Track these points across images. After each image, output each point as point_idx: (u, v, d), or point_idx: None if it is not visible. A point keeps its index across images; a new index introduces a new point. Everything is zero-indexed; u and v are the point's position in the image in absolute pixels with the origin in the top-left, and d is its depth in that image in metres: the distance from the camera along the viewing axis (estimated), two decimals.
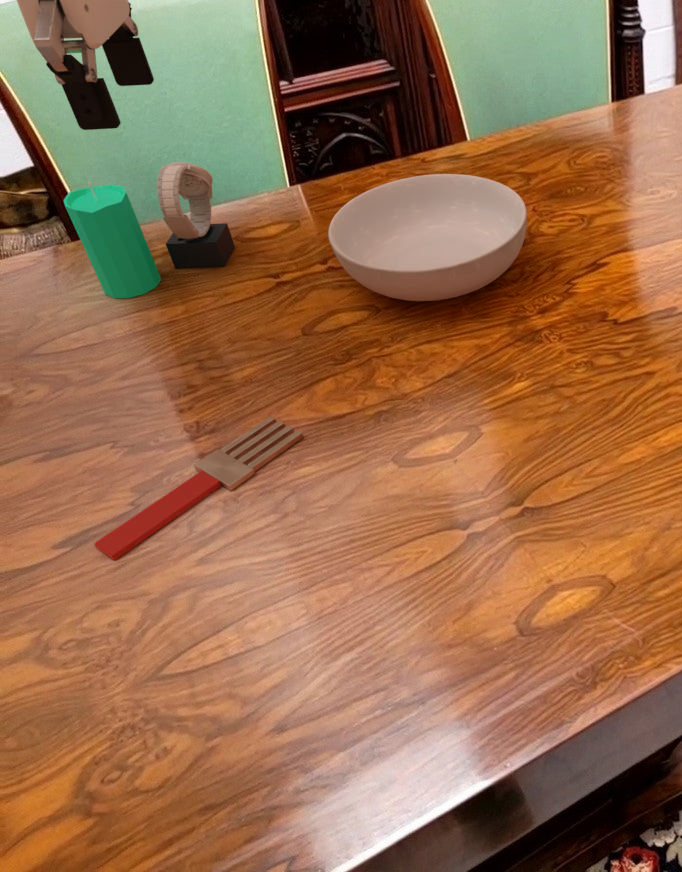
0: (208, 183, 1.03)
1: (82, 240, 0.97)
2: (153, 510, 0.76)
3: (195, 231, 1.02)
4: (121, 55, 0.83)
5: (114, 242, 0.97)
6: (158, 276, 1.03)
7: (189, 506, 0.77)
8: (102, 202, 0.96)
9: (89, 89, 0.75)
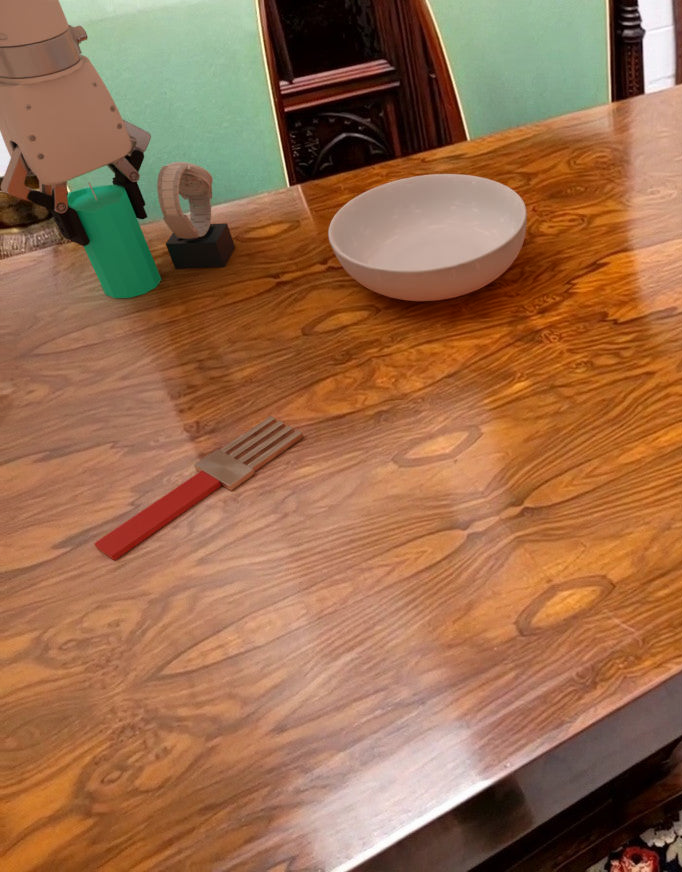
0: (208, 183, 1.03)
1: None
2: (153, 510, 0.76)
3: (195, 231, 1.02)
4: None
5: (114, 242, 0.97)
6: (158, 276, 1.03)
7: (189, 506, 0.77)
8: (102, 202, 0.96)
9: (59, 216, 0.93)
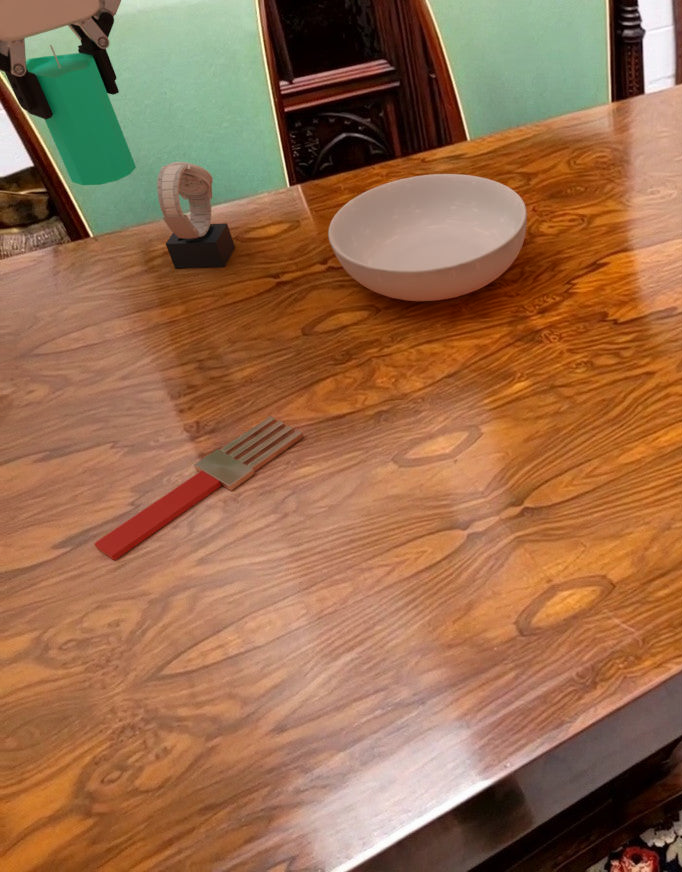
0: (208, 183, 1.03)
1: None
2: (153, 510, 0.76)
3: (195, 231, 1.02)
4: None
5: (81, 116, 0.85)
6: (132, 163, 0.91)
7: (189, 506, 0.77)
8: (66, 69, 0.84)
9: (17, 81, 0.81)
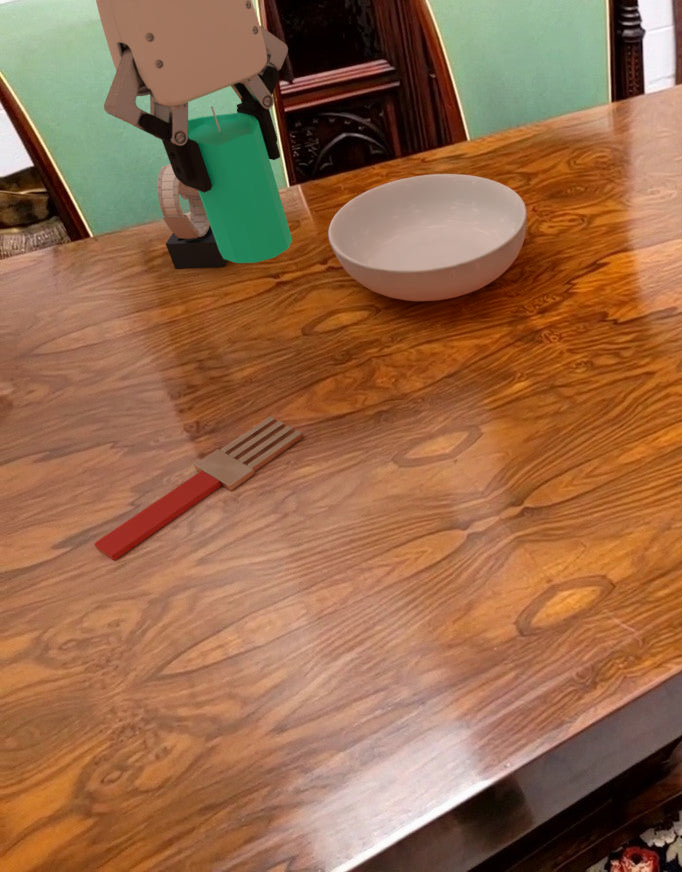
0: None
1: None
2: (153, 510, 0.76)
3: (195, 231, 1.02)
4: None
5: (243, 187, 0.73)
6: (289, 235, 0.80)
7: (189, 506, 0.77)
8: (227, 133, 0.73)
9: (176, 150, 0.70)
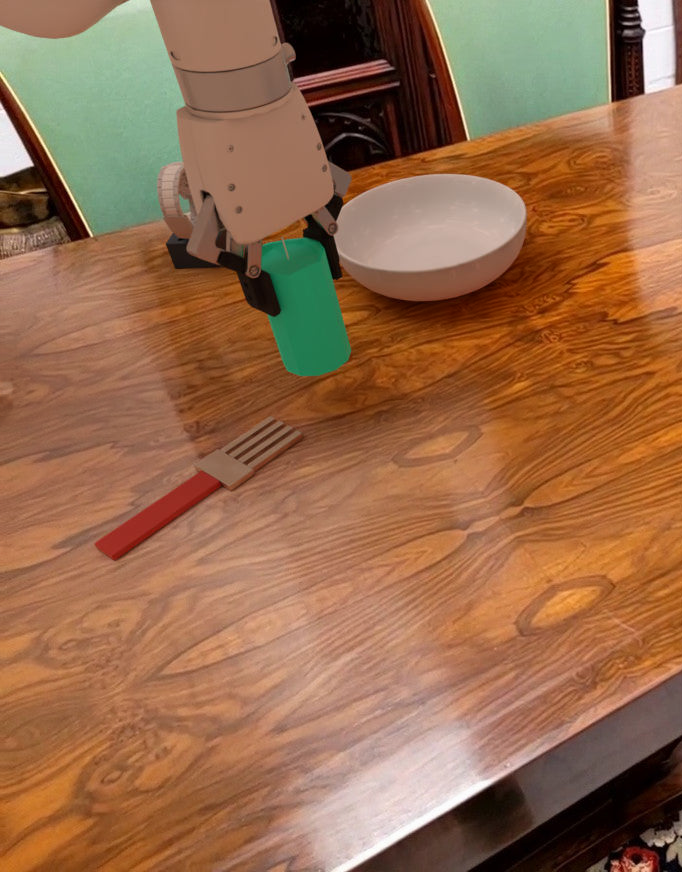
0: None
1: None
2: (153, 510, 0.76)
3: None
4: None
5: (309, 310, 0.78)
6: (349, 347, 0.84)
7: (189, 506, 0.77)
8: (295, 260, 0.77)
9: (250, 281, 0.74)
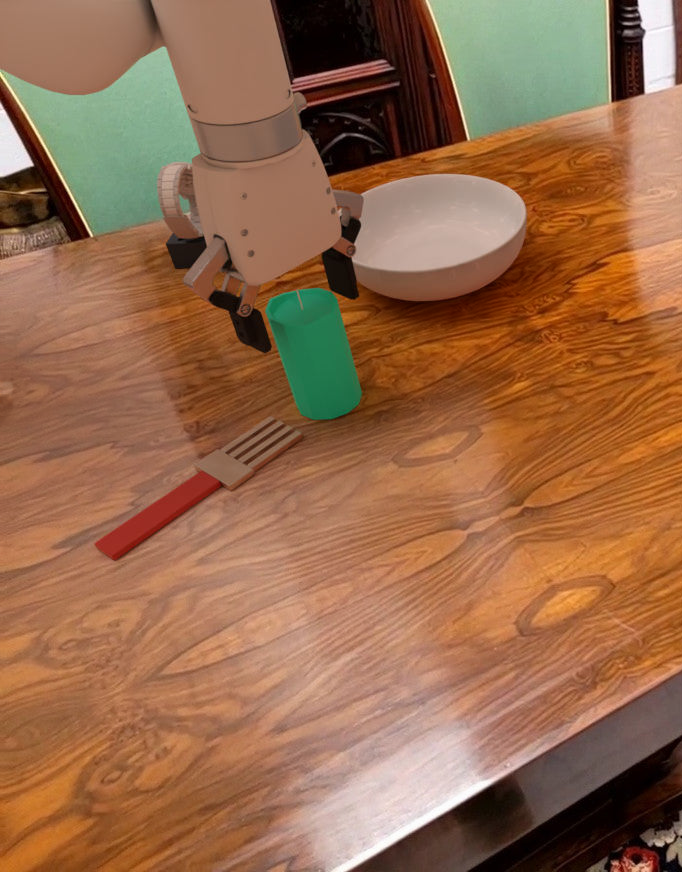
0: None
1: (284, 356, 0.81)
2: (153, 510, 0.76)
3: (195, 231, 1.02)
4: (333, 269, 0.82)
5: (322, 359, 0.81)
6: (360, 391, 0.87)
7: (189, 506, 0.77)
8: (309, 311, 0.80)
9: (241, 319, 0.75)
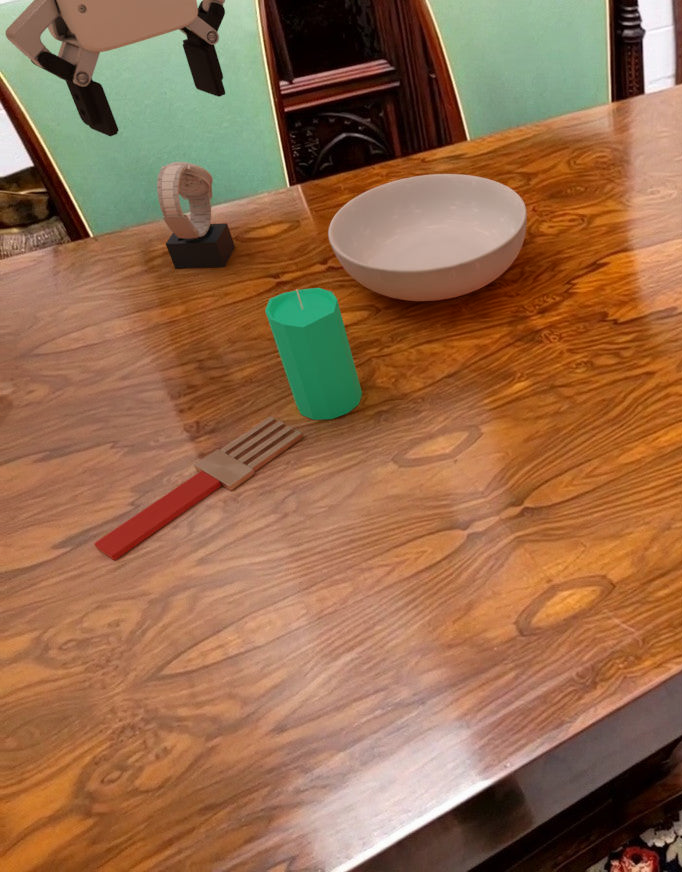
0: (208, 183, 1.03)
1: (284, 356, 0.81)
2: (153, 510, 0.76)
3: (195, 231, 1.02)
4: (195, 60, 0.77)
5: (322, 359, 0.81)
6: (360, 391, 0.87)
7: (189, 506, 0.77)
8: (309, 311, 0.80)
9: (79, 91, 0.69)
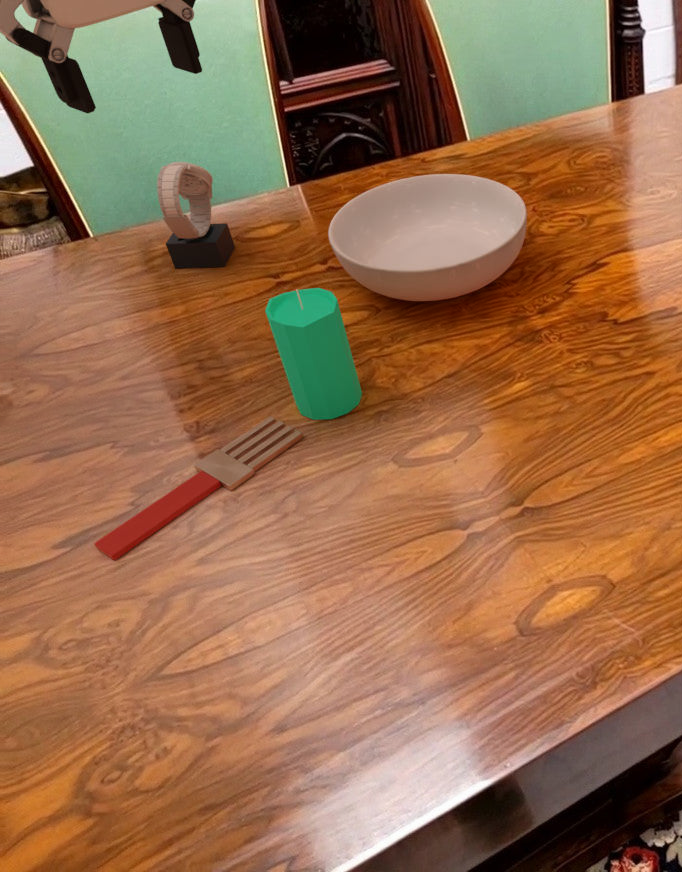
0: (208, 183, 1.03)
1: (284, 356, 0.81)
2: (153, 510, 0.76)
3: (195, 231, 1.02)
4: (171, 37, 0.77)
5: (322, 359, 0.81)
6: (360, 391, 0.87)
7: (189, 506, 0.77)
8: (309, 311, 0.80)
9: (55, 68, 0.70)
